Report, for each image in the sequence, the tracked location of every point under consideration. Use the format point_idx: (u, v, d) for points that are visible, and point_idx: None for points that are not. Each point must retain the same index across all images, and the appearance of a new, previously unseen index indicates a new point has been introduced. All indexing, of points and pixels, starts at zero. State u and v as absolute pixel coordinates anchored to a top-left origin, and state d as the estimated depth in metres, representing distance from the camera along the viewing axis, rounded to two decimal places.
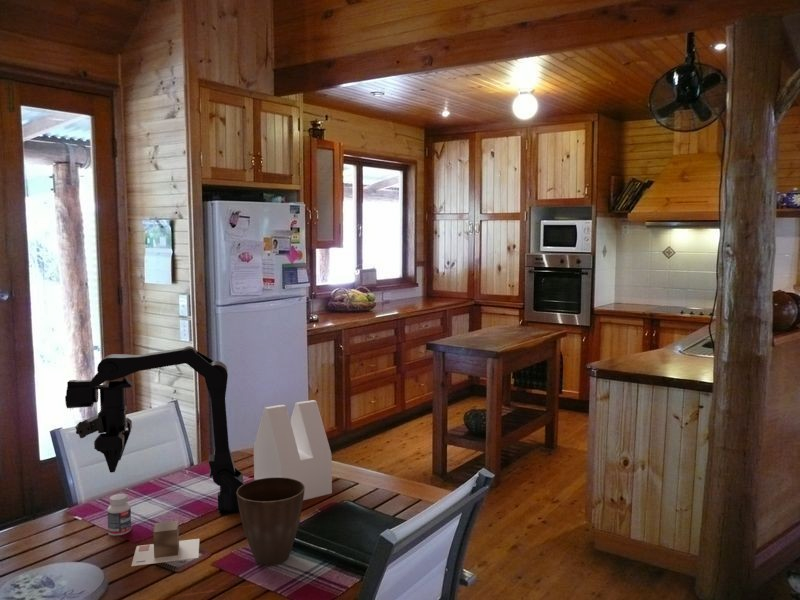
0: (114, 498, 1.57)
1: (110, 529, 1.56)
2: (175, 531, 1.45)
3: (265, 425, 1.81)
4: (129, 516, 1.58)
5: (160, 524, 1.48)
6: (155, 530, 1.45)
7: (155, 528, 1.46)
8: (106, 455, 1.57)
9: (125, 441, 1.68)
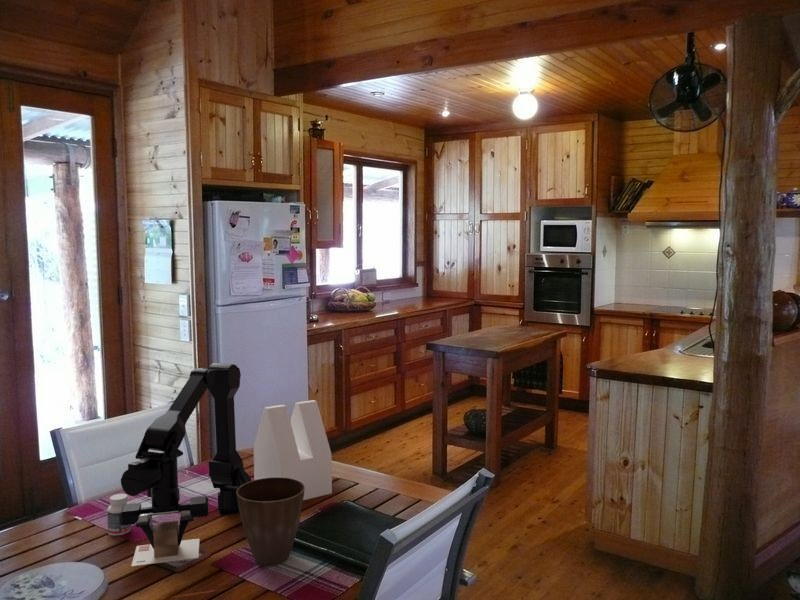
0: (114, 498, 1.57)
1: (110, 529, 1.56)
2: (175, 531, 1.45)
3: (265, 425, 1.81)
4: None
5: (160, 524, 1.48)
6: (155, 530, 1.45)
7: (155, 528, 1.46)
8: None
9: (179, 528, 1.46)
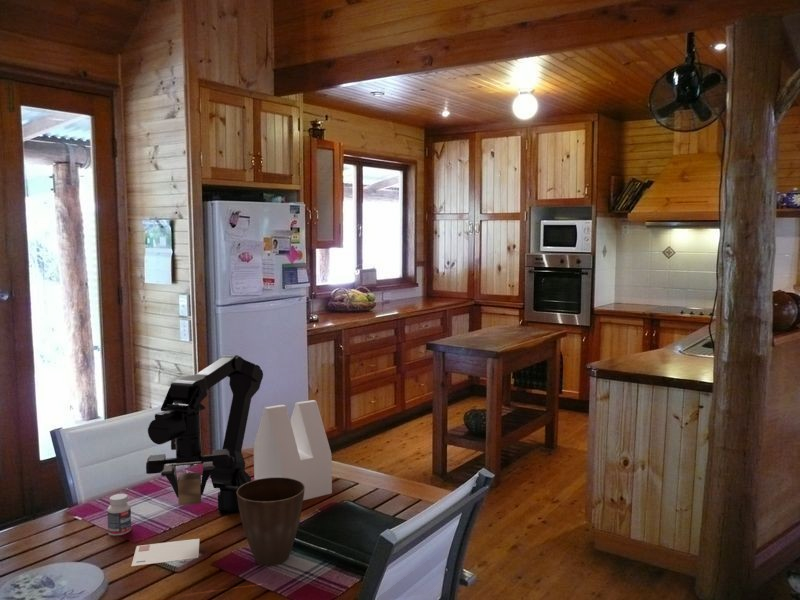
0: (114, 498, 1.57)
1: (110, 529, 1.56)
2: (198, 480, 1.53)
3: (265, 425, 1.81)
4: (129, 516, 1.58)
5: (183, 474, 1.56)
6: (180, 479, 1.52)
7: (179, 478, 1.53)
8: None
9: (202, 477, 1.54)
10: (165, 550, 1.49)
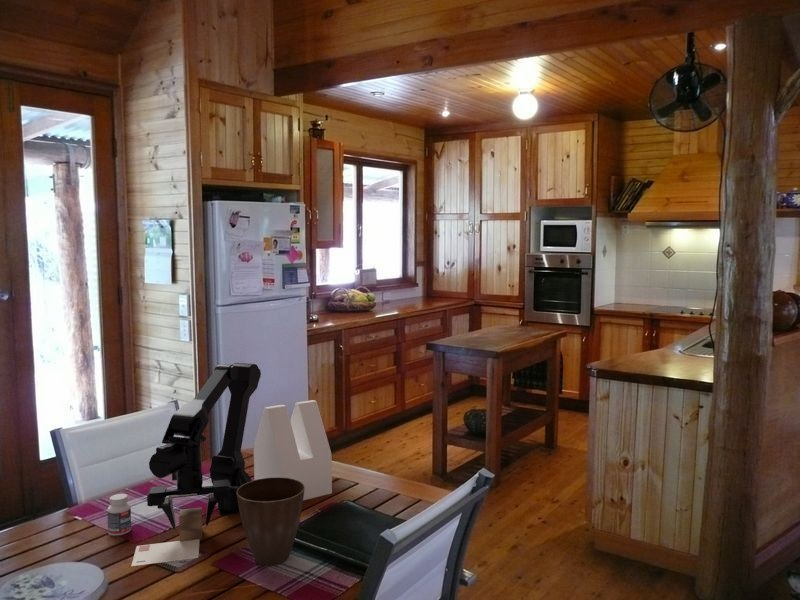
0: (114, 498, 1.57)
1: (110, 529, 1.56)
2: (199, 515, 1.54)
3: (265, 425, 1.81)
4: (129, 516, 1.58)
5: (185, 510, 1.57)
6: (181, 515, 1.53)
7: (180, 513, 1.55)
8: None
9: (207, 509, 1.54)
10: (165, 550, 1.49)
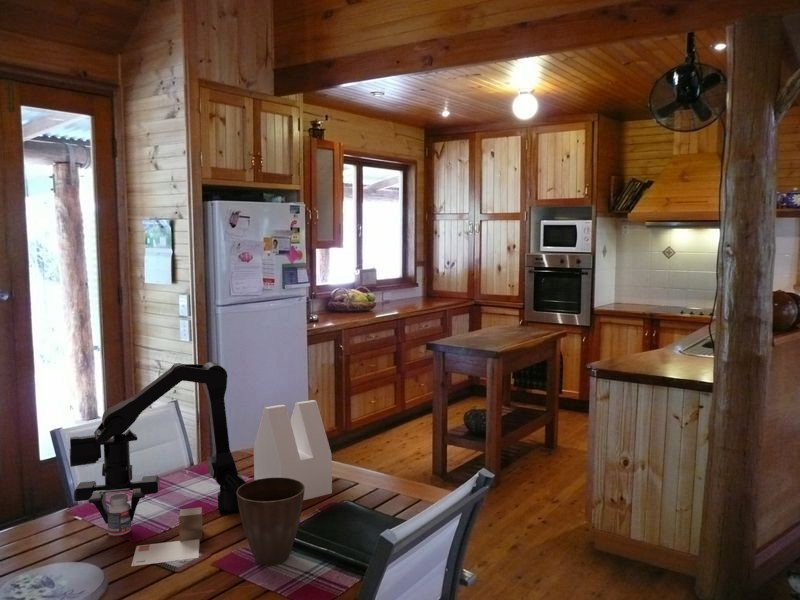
0: (114, 498, 1.57)
1: (110, 529, 1.56)
2: (199, 515, 1.54)
3: (265, 425, 1.81)
4: (129, 516, 1.58)
5: (185, 510, 1.57)
6: (181, 515, 1.53)
7: (180, 513, 1.55)
8: None
9: (131, 504, 1.57)
10: (165, 550, 1.49)
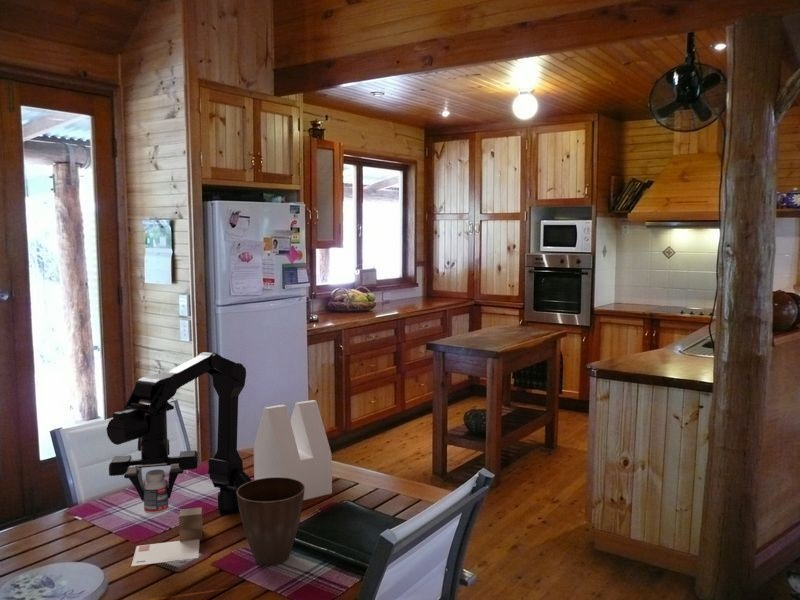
0: (150, 474, 1.47)
1: (146, 507, 1.46)
2: (199, 515, 1.54)
3: (265, 425, 1.81)
4: (166, 493, 1.48)
5: (185, 510, 1.57)
6: (181, 515, 1.53)
7: (180, 513, 1.55)
8: None
9: None
10: (165, 550, 1.49)
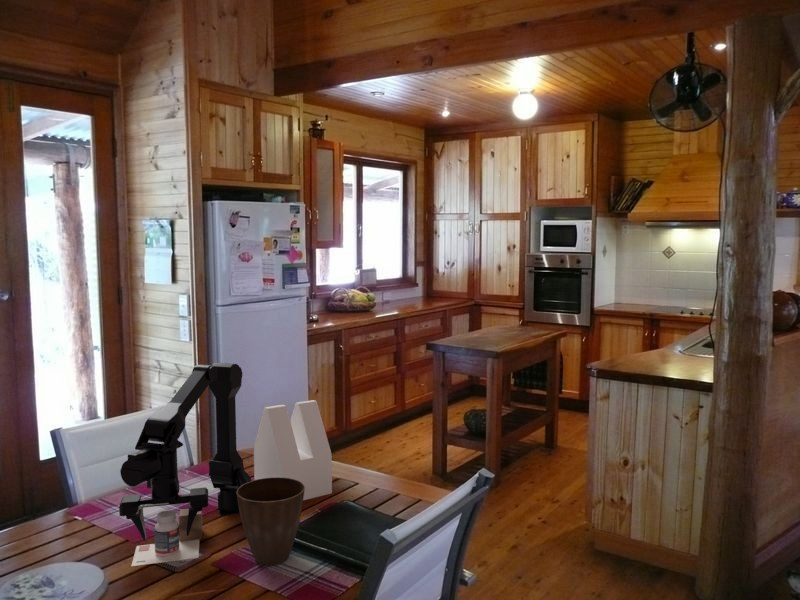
0: (161, 515, 1.46)
1: (158, 549, 1.45)
2: (199, 515, 1.54)
3: (265, 425, 1.81)
4: (177, 534, 1.47)
5: (185, 510, 1.57)
6: (181, 515, 1.53)
7: (180, 513, 1.55)
8: None
9: None
10: None
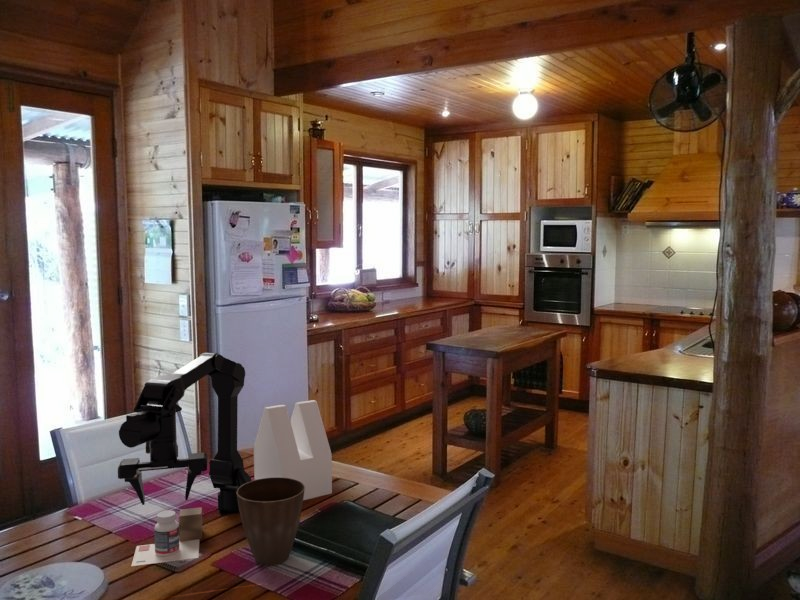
0: (161, 515, 1.46)
1: (158, 549, 1.45)
2: (199, 515, 1.54)
3: (265, 425, 1.81)
4: (177, 534, 1.47)
5: (185, 510, 1.57)
6: (181, 515, 1.53)
7: (180, 513, 1.55)
8: None
9: None
10: None
